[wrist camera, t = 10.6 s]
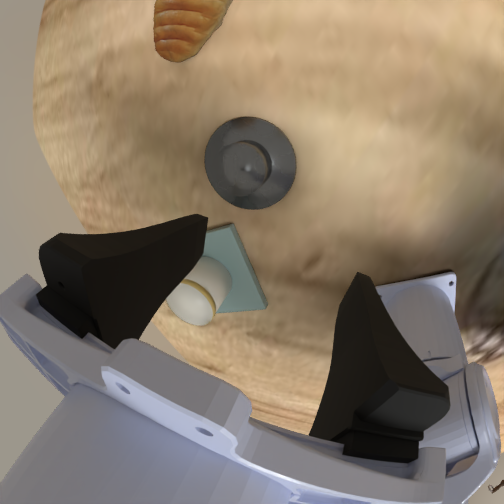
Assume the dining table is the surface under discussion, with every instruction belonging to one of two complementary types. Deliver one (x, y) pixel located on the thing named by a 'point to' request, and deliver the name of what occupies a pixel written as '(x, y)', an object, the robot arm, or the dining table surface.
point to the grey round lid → (250, 163)
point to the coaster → (235, 270)
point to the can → (201, 292)
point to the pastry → (185, 26)
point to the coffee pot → (503, 483)
